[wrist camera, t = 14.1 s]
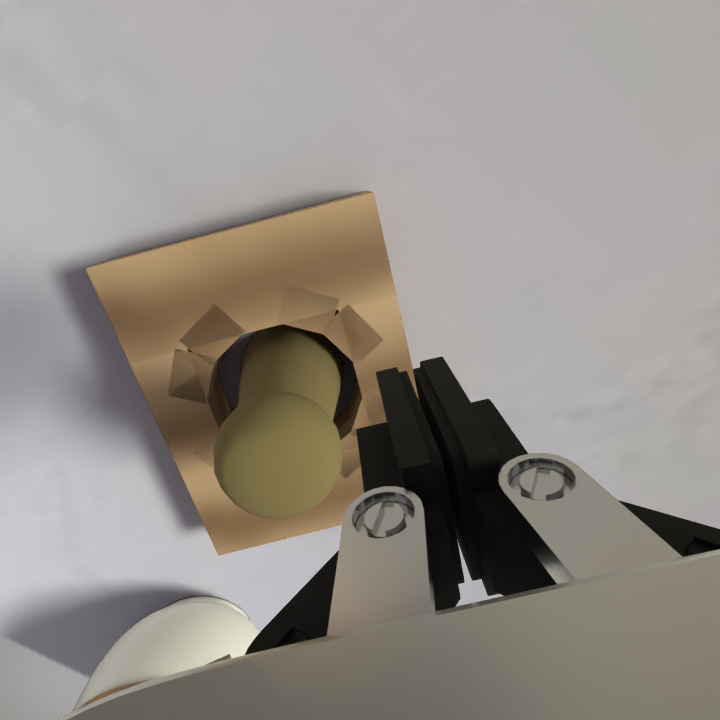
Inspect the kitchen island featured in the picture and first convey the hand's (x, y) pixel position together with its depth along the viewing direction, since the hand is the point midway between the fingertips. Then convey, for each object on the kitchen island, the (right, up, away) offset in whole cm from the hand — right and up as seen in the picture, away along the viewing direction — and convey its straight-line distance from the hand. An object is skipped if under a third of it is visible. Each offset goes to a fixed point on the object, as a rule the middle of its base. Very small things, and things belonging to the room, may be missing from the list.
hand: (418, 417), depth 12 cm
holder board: (-6, 0, +16) cm, 17 cm away
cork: (-5, +1, +16) cm, 17 cm away
